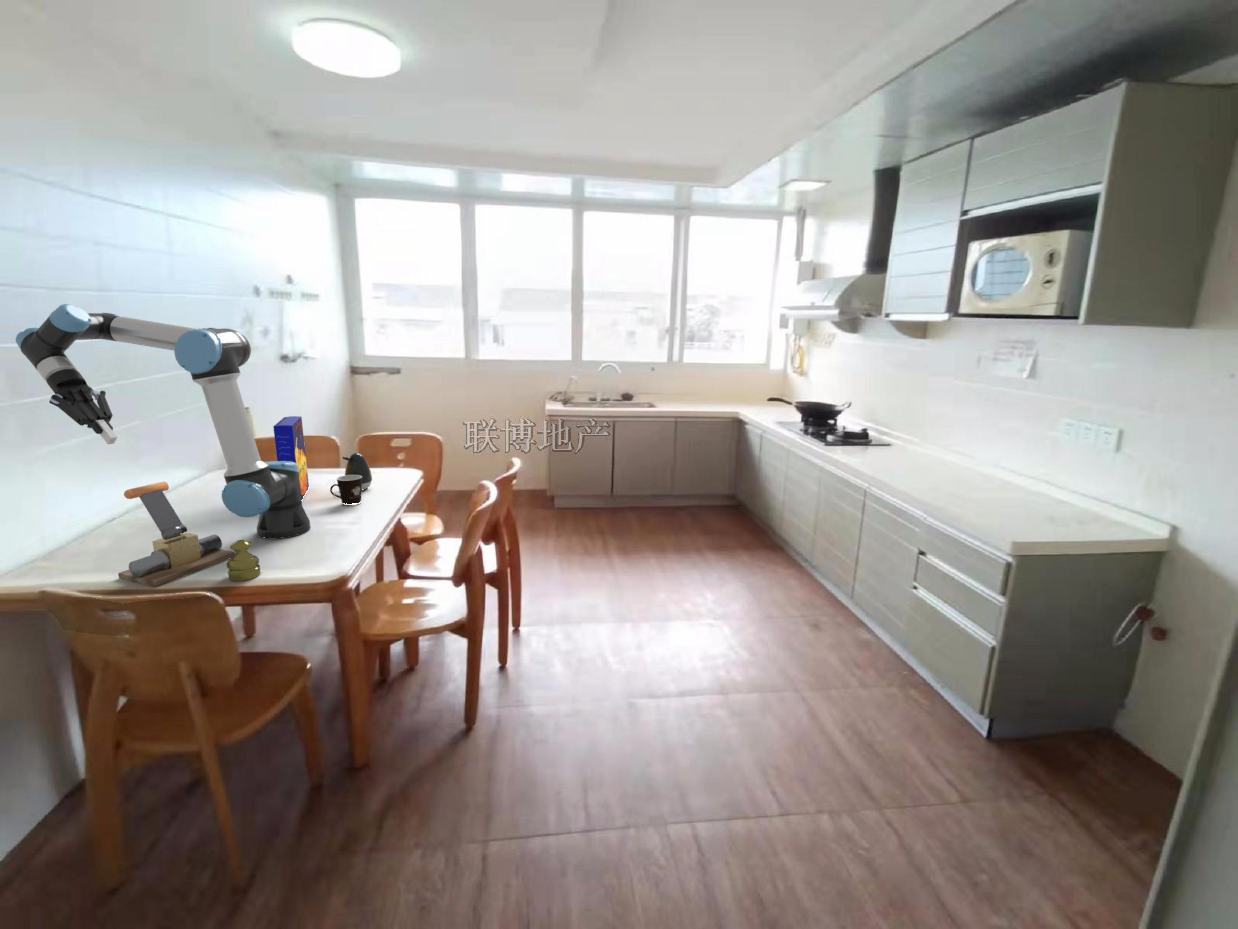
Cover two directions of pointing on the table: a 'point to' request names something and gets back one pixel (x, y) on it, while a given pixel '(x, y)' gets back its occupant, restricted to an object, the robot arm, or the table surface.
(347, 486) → the coffee mug
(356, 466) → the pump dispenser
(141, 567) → the pipe valve
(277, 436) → the cereal box
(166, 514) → the valve lever
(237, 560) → the gold pawn figurine
